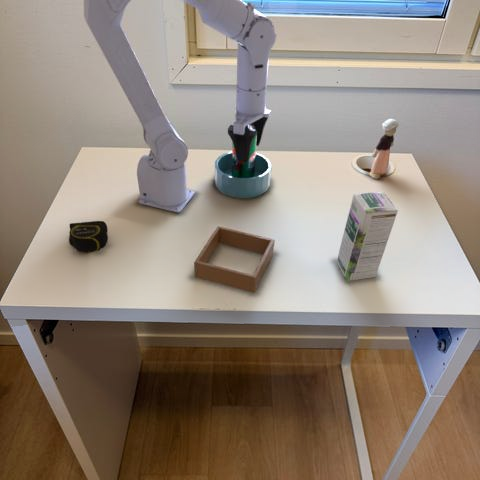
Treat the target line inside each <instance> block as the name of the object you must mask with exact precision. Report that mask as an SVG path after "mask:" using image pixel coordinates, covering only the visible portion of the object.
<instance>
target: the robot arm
mask: <svg viewBox="0 0 480 480" xmlns="http://www.w3.org/2000/svg"><path fill="white" fill-rule="evenodd" d="M131 1H132V0H83V17H84V20H85V23H86V24H87V26H88V28H89V29H90V32H91V34H92V36H93V37H94V40H95V41H96V43H97V45H98V46H99V49H100V50H101V52H102V54H103V56H104V58H105V60H106V61H107V63H108V66H109V67H110V69H111V71H112V73H113V74H114V76H115V78H116V79H117V82H118V83H119V85H120V87H121V89H122V91H123V92H124V94H125V96H126V98H127V101H128V102H129V104H130V106H131V108H132V109H133V111H134V113H135V115H136V116H137V119H138V121H139V122H140V125H141V127H142V131H143V133H142V135H143V136H142V137H143V140H144V142H145V144H146V145H147V146H148V147H149V149H150V150H149V154H144V155H142V156H141V157H140V159H139V160H138V163H137V168H136V177H137V184H138V192H139V198H140V199H139V200H138V203H139V205H144V206H149V207H153V208H157V209H161V210H166V211H169V212H173V213H177V214H180V213H182V211H183V210H184V208H185V207H186V206H187V205H188V203H189V202H190V201H191V199H192V198H193V197H194V196H195V191H194V190H189V189H188V186H187V185H188V184H187V169H186V167H187V166H186V161H187V158H188V156H189V148H188V145H187V143H186V142H185V141H184V140H183V139H182V138H181V137H180V136H179V134H178V132H177V131H176V130H175V127H174V125H173V124H172V122H170V121H169V119H168V118H167V116H166V114H165V112H164V110H163V108H162V107H161V104H160V102H159V100H158V98H157V96H156V94H155V92H154V90H153V88H152V85H151V84H150V82H149V80H148V78H147V76H146V74H145V71H144V70H143V68H142V65H141V63H140V62H139V59H138V58H137V55H136V53H135V51H134V49H133V47H132V45H131V43H130V41H129V39H128V37H127V35H126V33H125V31H124V29H123V27H122V20H123V17H124V14H125V11H126V8H127V6H128V5H129V4H130V2H131ZM181 1H182V2H184V3H185V4H188V5H189V6H192V7H193V8H195V9H196V10H198V13H199V16H200V20H201V22H202V23H203V24H204V25H206V26H208V27H209V28H212V29H213V30H215V31H216V32H218V33H220V34H222V35H223V36H225V37H227V38H228V39H230V40H232V41H235V42H237V58H236V93H235V95H236V97H235V98H236V101H235V108H234V117H235V118H234V122H233V124H230V125H229V126H228V128H227V134H228V136H229V138H230V140H231V143H232V142H233V144H234V147H235V152H236V156H237V160H238V161H239V162H244V163H247V162H248V160H249V156H250V151H251V146H252V142H253V140H254V137H255V135H256V134H257V143H256V147H259V146H260V144H261V140H262V137H263V133H264V129H265V127H266V124H267V121H268V119H269V117H270V116H271V114H272V110H271V109H270V108H266V107H267V105H266V102H267V88H268V87H267V86H268V74H269V73H268V71H269V60H270V53H271V50H272V48H273V47H274V45H275V43H276V40H277V36H278V35H277V33H275V26H274V25H273V22H272V20H271V19H270V18H268V17H267V16H266V15H264V14H262V13H261V12H259V11H258V10H257V9H255V8H256V6H255V5H254V4H253V3H252V2H250V1H247V2H244V1H243V0H181ZM249 124H251V125H253V126H255V130H256V131H252V130H249V128H248V125H249Z"/></svg>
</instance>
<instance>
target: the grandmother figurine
mask: <svg viewBox="0 0 480 480" xmlns="http://www.w3.org/2000/svg"><path fill="white" fill-rule="evenodd" d="M399 124H400V123H399V122H398V120H396V119H394V118H388V119H387V120H385V121H384V122H383V123H382V125H381V126H382V130H383V135H382V136H381V137H380V139H379V142H378V144H377V145H376V147H375V149H374V151H373V153H372V155H371V157H372V158H374V160H373V162H372V166H371V169H370V172H369V173H368V176H369V177H371V178H373V179H375V180H377V179H380V178H381V176H383V175H385V174H386V173H388V170H389V163H390V153H391V148H392V147H393V146H394V141H395V136H394V135H395V134H396V132H397V128H398V127H399Z"/></svg>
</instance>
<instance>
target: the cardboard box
mask: <svg viewBox="0 0 480 480" xmlns="http://www.w3.org/2000/svg"><path fill="white" fill-rule="evenodd" d="M275 241H276V240H275V239H273V238H269V237H266V236H261V235H257V234H254V233H253V234H252V233H249V232H245V231H240V230H236V229H232V228H227V227H223V226H219V225H217V226H216V228H215V229H214V231H213V232H212V234H211V235H210V237H209V238H208V240H207V242H206V243H205V245H204V246H203V248H202V249H201V251H200V253H199V254H198V255H197V257H196V259H195V260H194V261H193V268H194V269H193V271H194V278H196V279H200V280H203V281H207V282H211V283H215V284H219V285H223V286H226V287H230V288H234V289H239V290H242V291H245V292H250V293H253V294H255V293H256V291H257V289H258V287H259V285H260V283H261V281H262V279H263V277H264V274H265V273H266V270H267V268H268V266H269V264H270V262H271V260H272V258H273V256H274V250H275ZM220 244H221V245H225V246H230V247H234V248H238V249H241V250H245V251H250V252H253V253H257V254H261V255H262V258H261V259H260V261H259V263H258V265H257V268H256V270H255V271H254V273H253V274H251V273H246V272H244V271H238V270H236V269H231V268H227V267H223V266H219V265H216V264H211V263H208V262H209V261H210V259H211V258H212V256H213V255H214V253H215V251H216V249H217V248H218V246H219V245H220Z"/></svg>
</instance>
